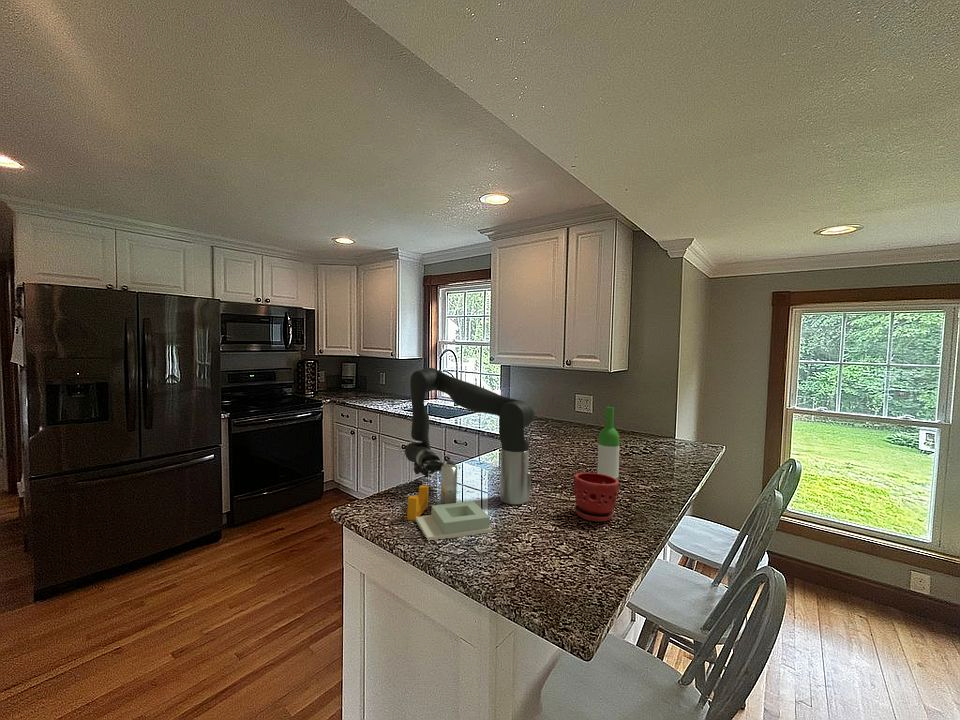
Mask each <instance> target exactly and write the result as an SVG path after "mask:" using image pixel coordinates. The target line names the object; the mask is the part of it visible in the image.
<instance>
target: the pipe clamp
mask: <svg viewBox="0 0 960 720" xmlns="http://www.w3.org/2000/svg"><path fill="white" fill-rule="evenodd" d="M429 488H430V486H429V485H420V486H419V487H418V494H415V495H409V496H408V497H407V508H406V509H407V512H406V516H407V517H406V520H407V521H415V522H416V517H420V516H421V515H422V514H423V513H424V511H425V510H426V509H427V508H428V507H429Z"/></svg>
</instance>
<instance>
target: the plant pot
mask: <svg viewBox="0 0 960 720" xmlns="http://www.w3.org/2000/svg"><path fill="white" fill-rule="evenodd" d="M603 482H605V484H603ZM619 485H620V483H619V479H618V480H617V479H615V478H613V477H610V476H607V475H603V474H598V473H597V472H578V473H576V474H575V475H574V478H573V493H574V498H575V503H576V505H575V506H574V511H575V513H576V514H577V515H578V516H579V517H581V518H582V519H583V520H587V521H592V522H608V521H610V520H612V519H613V517H614V515H615V513H614V511H613V510H614V508H615V506H616V502H617V499H618V493H619Z"/></svg>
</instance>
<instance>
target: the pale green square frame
mask: <svg viewBox="0 0 960 720" xmlns="http://www.w3.org/2000/svg"><path fill="white" fill-rule="evenodd" d="M490 521H491V517H490V516H489V515H488V514H487V512H485V511H484V510H483V509H482V508H481V507H480V506H479V505H478V504H477V503H476V502H475V501H474V500H470V501H462V502H456V503H451V504H442V505H440V504H435V505H431V513H430V515H422V516H421V515H420V516H419V517H416V521H415V522H416V523H417V525H418V527H419V529H420V530H422V531H421V533H422V534H423V536H424V535H425V536H424V537H426V538H427V539H426V538H425V539H426V541H427V540H428V541H427V542H431V541H430V540H434V541H439V540H438V539H441V540H447V539H446V538H448V539H454V538H460V537H468V536H474V535H475V536H476V535H482V534H488V533H492V532H493V529H492V527H491V524H490V523H491V522H490Z"/></svg>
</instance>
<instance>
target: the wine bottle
mask: <svg viewBox="0 0 960 720" xmlns="http://www.w3.org/2000/svg"><path fill="white" fill-rule="evenodd" d="M614 413H615V407H613V406H606V407H605V423H604V424H605V426H604V428H603V429H601V431H599V434H598V446H597V447H598V449H597V472H596V473H598V474H603V475H607V476H610V477H613V478H615V479H617V480H618V481H619V471H620V470H619V469H620V467H619V466H620V434H619V432H618V431H617V430H616V428H614V422H615V421H614V418H615V417H614V416H615V415H614ZM603 484H605V482H603Z"/></svg>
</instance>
